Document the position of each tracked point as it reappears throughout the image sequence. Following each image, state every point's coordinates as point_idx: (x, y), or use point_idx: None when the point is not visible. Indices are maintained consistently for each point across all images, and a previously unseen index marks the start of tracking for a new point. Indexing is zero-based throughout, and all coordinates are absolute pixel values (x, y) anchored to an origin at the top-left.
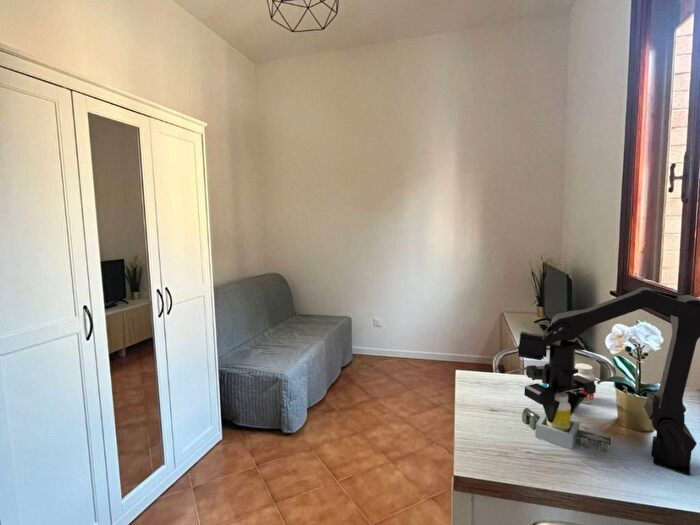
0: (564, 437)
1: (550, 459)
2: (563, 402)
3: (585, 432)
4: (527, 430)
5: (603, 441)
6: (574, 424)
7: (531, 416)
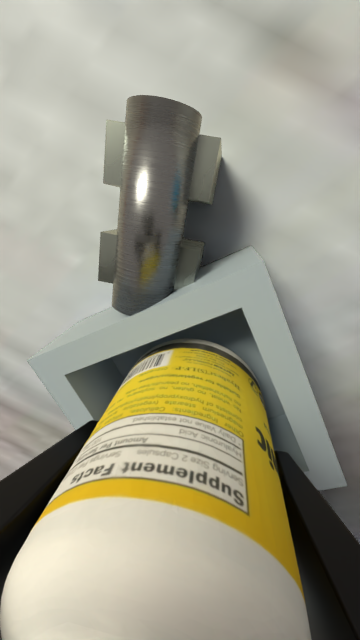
0: None
1: (27, 442)
2: None
3: None
4: (84, 255)
5: None
6: None
7: (117, 232)
